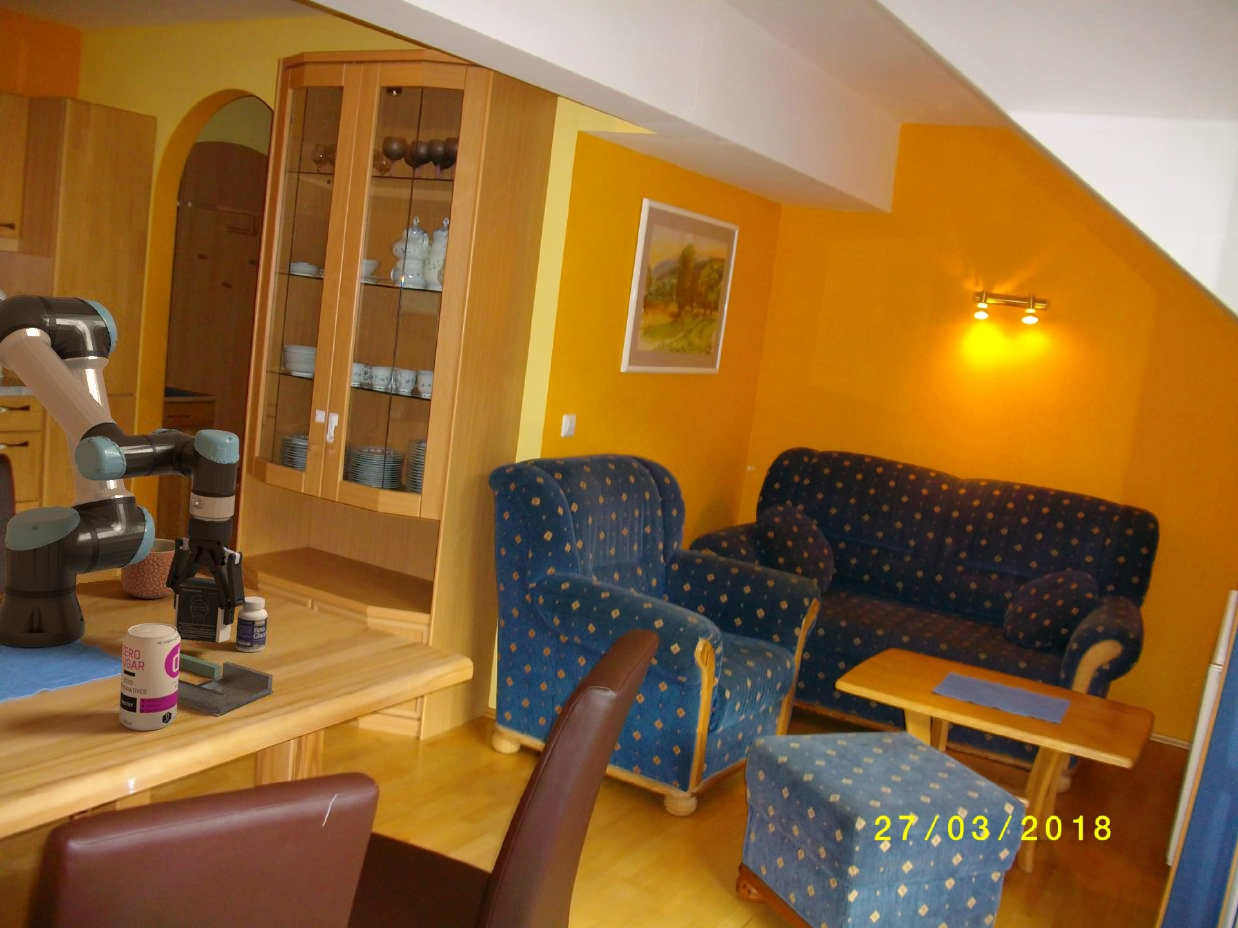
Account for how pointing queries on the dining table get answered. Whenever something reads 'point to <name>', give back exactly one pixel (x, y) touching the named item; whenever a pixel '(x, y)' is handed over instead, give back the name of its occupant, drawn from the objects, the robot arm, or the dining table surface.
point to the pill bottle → (251, 625)
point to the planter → (150, 572)
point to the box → (198, 609)
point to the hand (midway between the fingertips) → (201, 633)
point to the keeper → (225, 690)
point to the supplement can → (149, 676)
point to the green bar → (199, 666)
